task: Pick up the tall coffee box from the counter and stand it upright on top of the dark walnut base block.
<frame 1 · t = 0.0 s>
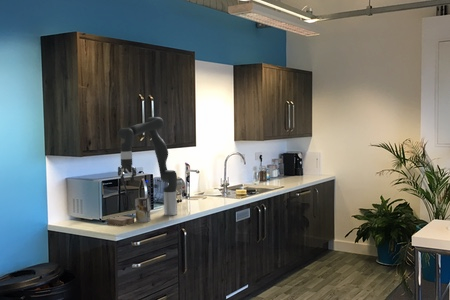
hand: (127, 182, 328), 29 cm above the worktop, tool pointing down, fingers open, 8 cm apart
walnut base: (120, 223, 339), on the worktop
coffee box: (143, 221, 345), on the worktop
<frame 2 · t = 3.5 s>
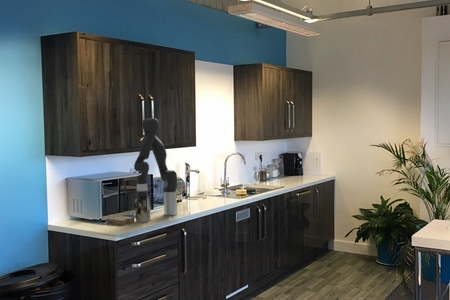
hand: (142, 213, 345), 6 cm above the worktop, tool pointing down, fingers closed on coffee box, 8 cm apart
coffee box: (143, 221, 345), on the worktop, touching gripper
everything else where it was.
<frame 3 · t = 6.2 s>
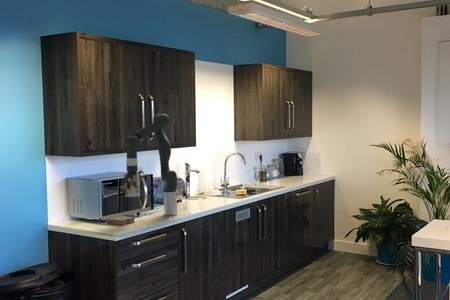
hand: (132, 188, 341), 24 cm above the worktop, tool pointing down, fingers closed on coffee box, 7 cm apart
coffee box: (132, 196, 341), point 18 cm above the worktop, touching gripper
everything else where it was.
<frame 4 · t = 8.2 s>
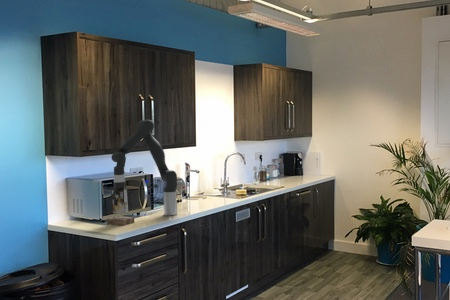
hand: (120, 204, 338), 13 cm above the worktop, tool pointing down, fingers closed on coffee box, 7 cm apart
coffee box: (120, 213, 338), point 7 cm above the worktop, touching gripper
everything else where it was.
when the fingers open (11 cm above the worktop, at t = 9.3 s): coffee box drops 2 cm, resting on walnut base.
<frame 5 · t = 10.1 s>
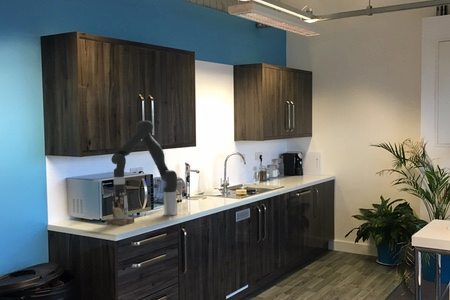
hand: (120, 206, 338), 12 cm above the worktop, tool pointing down, fingers open, 8 cm apart
walnut base: (120, 224, 339), on the worktop, touching coffee box
coffee box: (120, 218, 338), point 3 cm above the worktop, touching walnut base
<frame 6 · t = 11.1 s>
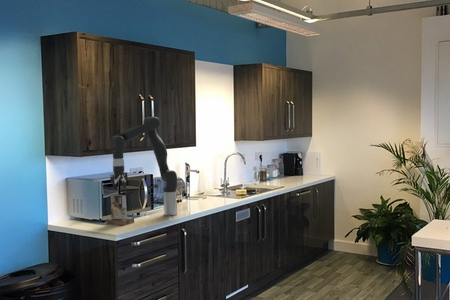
hand: (119, 188, 337), 24 cm above the worktop, tool pointing down, fingers open, 8 cm apart
walnut base: (120, 224, 339), on the worktop
coffee box: (118, 218, 337), point 3 cm above the worktop
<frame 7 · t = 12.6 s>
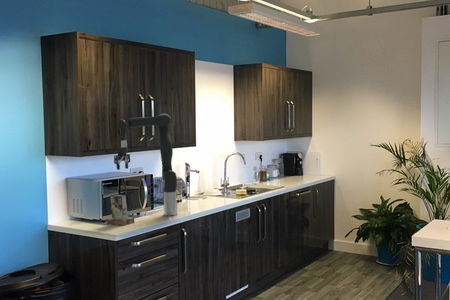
hand: (122, 169, 355), 36 cm above the worktop, tool pointing down, fingers open, 8 cm apart
walnut base: (120, 224, 339), on the worktop, touching coffee box
coffee box: (119, 218, 337), point 3 cm above the worktop, touching walnut base
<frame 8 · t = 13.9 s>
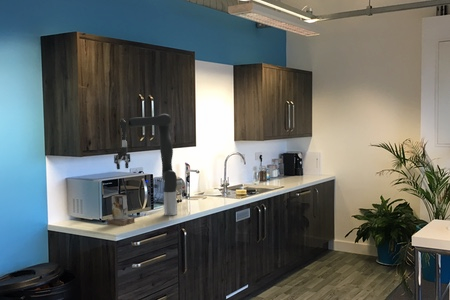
hand: (122, 168, 355), 36 cm above the worktop, tool pointing down, fingers open, 8 cm apart
nothing on the worktop moved.
at the end: coffee box inside the target area on the walnut base (1.0 cm from its centre), point 3.9 cm above the walnut base's base; coffee box tilted 1°; the gripper is holding nothing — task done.
